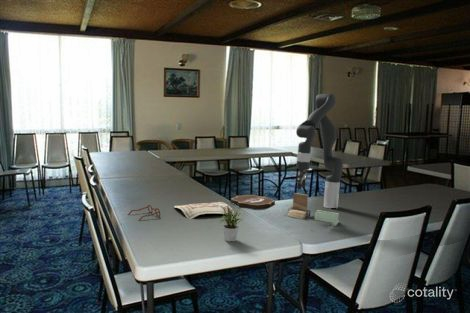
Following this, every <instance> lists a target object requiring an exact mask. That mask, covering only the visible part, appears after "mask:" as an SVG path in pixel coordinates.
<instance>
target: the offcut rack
mask: <svg viewBox="0 0 470 313" xmlns="http://www.w3.org/2000/svg"><path fill="white" fill-rule="evenodd" d="M290 210H296V209H293V206H291V207H290V208H288V211H287V212H286V213H285V214H283V215H282V217H287V218H293V219H297V220H298V219H299V220H304V221H308V220H309V219H310V218H311V217H312V216H313V215H312V214H311V212H312V210H311V209H307V211H305V212H306V217H305V218H303V219H301V218H296V217H290V216H288V213H289V211H290ZM298 211H302V210H298Z"/></svg>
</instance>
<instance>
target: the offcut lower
mask: <svg viewBox="0 0 470 313" xmlns="http://www.w3.org/2000/svg"><path fill="white" fill-rule="evenodd" d="M288 216H290V217H289V218H292V217H296V218H295V219H298V218H301V219H300V220H303V218H305V217H306V215H305V216H299V215H293V214H288Z"/></svg>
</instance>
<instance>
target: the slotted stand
mask: <svg viewBox="0 0 470 313" xmlns="http://www.w3.org/2000/svg"><path fill="white" fill-rule="evenodd" d="M314 215H315V216H314V219H313V220H315V221H322V222H326V223H327V222H328V223H329V225H330V226H334V227H336V226H337V225H338V224H339V215H340V213H337V212H332V211H324V210H321V209H317V210H316V211H315V213H314Z"/></svg>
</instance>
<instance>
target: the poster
mask: <svg viewBox="0 0 470 313" xmlns="http://www.w3.org/2000/svg"><path fill="white" fill-rule="evenodd" d="M221 206H222V207H224V209H225V211H226V213H228V207H229V209H230V211H232V210H233V212H232V213H235V214H236V211H235V209H234V208H232V207H231V206H230V205H229V204H227V203H225V202H223V201H211V202H203V203H202V202H200V203H190V204H189V203H188V204H184V205H174V206H173V207H174V208H177V209H179V210H181V211H182V213H183V214H184V215H185V217H186V218H187V219H190V220H192V219H194V218H196V217H198V216H200V215H205V214H222V213H223V214H224V212H225V211H224V209H223V208H222V207H221ZM227 206H228V207H227ZM219 209H220V210H219ZM223 211H224V212H223ZM221 212H222V213H221ZM226 213H225V214H226ZM223 214H222V215H223ZM225 214H224V215H225Z"/></svg>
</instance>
